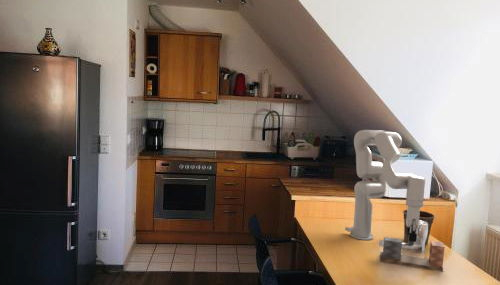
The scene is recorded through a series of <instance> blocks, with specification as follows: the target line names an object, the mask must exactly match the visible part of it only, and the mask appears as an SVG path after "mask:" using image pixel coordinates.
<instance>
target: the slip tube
mask: <svg viewBox="0 0 500 285" xmlns="http://www.w3.org/2000/svg"><path fill="white" fill-rule="evenodd" d="M409 232H410V231H409ZM378 243H379V244H378V247H382V248H383V247H384V239H379V242H378ZM402 250H404V251H411V252H416V251H417V252H416V253H423V252H422V246H421V245H414V244H413V242H412V241H409V239H408V242H406V243H405V242H402Z"/></svg>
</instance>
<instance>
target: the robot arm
mask: <svg viewBox="0 0 500 285" xmlns="http://www.w3.org/2000/svg"><path fill="white" fill-rule="evenodd" d="M402 140H403V139H402V137H401V135H400V134H399V133H397V132H394V131H388V130H379V129H378V130H377V129H363V130H361V129H360V130H359V131H357V132H356V133H355V135H354V138H353V145H354V150H355V163H356V175H357V177H358V178H360V179H372V180H362V181H361V180H360V181H357V182H356V184H355V185H354V188H353V189H354V191H353V192H354V215H353V216H354V217H353V226H351V227H348V226H345V228H344V230H345V231H347V232H348V233H349V232H350V233H349V236H350V237H352V238H353V239H356V240H361V241H362V240H363V241H369V240H372V239H373V238H374V234H372V233H371V232H372V222H373V202H372V201H371V199H374V198H375V199H377V198H382V197H384V196H385V195H386V190H387V189H386V188H387V187H386V186H387V185H388V187H389V188H390V189H392V190H406V195H405V205H406V206H407V208H406V210H407V216H406V225H407V227H408V231H407V235H409V241H412V242H416V238H417V228H418V225H419V216H420V211H421V208H423V207H424V197H425V187H426V186H425V185H426V179H425V178H424V177H423V176H418V175H416V174H413V173H408V172H406V173H404V172H398V173H396V172H395V171H394V169H393V167H392V164H394V163H396V162H397V161H398V160H400V158H401V154H400V151H399V149H398V148H400V147H401V146H402V143H403V141H402ZM369 146H376V148H377V150H378V152H379V154H380V157H381V158H382V159H383V162H381V161H378V160H377V161H376V160H374V161H373V154H372V151H371V150H370V148H369ZM386 184H387V185H386ZM409 231H410V232H409Z"/></svg>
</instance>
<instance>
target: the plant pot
mask: <svg viewBox="0 0 500 285" xmlns="http://www.w3.org/2000/svg"><path fill="white" fill-rule="evenodd" d="M402 213H403V223H404V224H403V225H404V226H403V232H404V233H403V240H404V241H405V242H406V243H408V239H409V235H407V231H408V227H407V225H406V216H407V209H404V210H403V211H402ZM435 218H436V216H435V214H433V213H431V212H428V211H424V210H420V216H419V220H420V221H425V222H427V223H428V234H427V238H426V241H425V246H426V245H428V243H429V239H430V234H431V229H432V225H433V223H434V219H435ZM413 244H414V242H413Z"/></svg>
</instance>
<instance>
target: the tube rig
mask: <svg viewBox="0 0 500 285" xmlns="http://www.w3.org/2000/svg"><path fill="white" fill-rule="evenodd" d="M383 240H384V247H382V251H380V254H379V257H380V259H379V260H380V263H386V264H393V265H399V266H404V267H405V266H406V267H411V268H412V267H413V268H417V269H425V270H429V271H430V270H431V271H437V272H444V256H445V245H444V243H443V241H437V240H430V246H429V255H428V256H429V257H428V258H426V257H420V256H419V257H417V256H413V255H406V254H405V255H404V254H402V250H403V249H402V243H403V240H402V239H400V238H395V237H388V236H384V237H383Z"/></svg>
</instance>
